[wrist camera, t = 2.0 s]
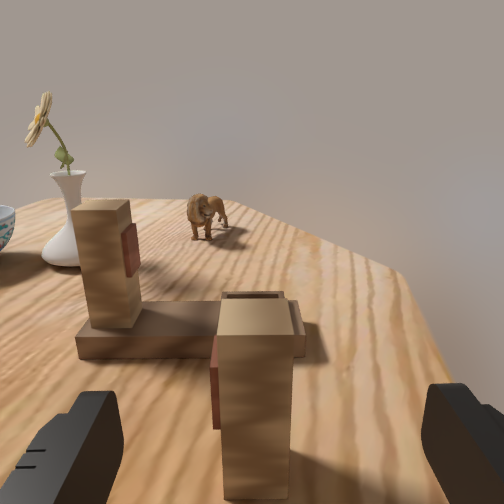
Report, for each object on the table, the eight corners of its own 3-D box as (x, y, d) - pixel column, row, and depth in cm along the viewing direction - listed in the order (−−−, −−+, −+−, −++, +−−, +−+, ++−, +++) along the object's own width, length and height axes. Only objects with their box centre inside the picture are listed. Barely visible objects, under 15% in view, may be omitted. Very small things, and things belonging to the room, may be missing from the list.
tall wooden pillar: (216, 499, 24) (207, 335, 20) (220, 446, 28) (213, 299, 24) (287, 499, 24) (294, 334, 20) (282, 446, 28) (287, 298, 24)
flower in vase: (55, 249, 66) (23, 92, 58) (124, 244, 68) (103, 92, 60) (29, 281, 54) (-16, 89, 46) (113, 274, 57) (86, 89, 48)
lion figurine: (212, 248, 67) (210, 196, 64) (183, 246, 68) (179, 196, 64) (231, 224, 80) (230, 180, 77) (206, 222, 81) (204, 180, 78)
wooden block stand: (79, 358, 38) (50, 215, 33) (104, 321, 44) (84, 196, 39) (304, 357, 38) (312, 213, 33) (296, 319, 44) (301, 194, 39)
